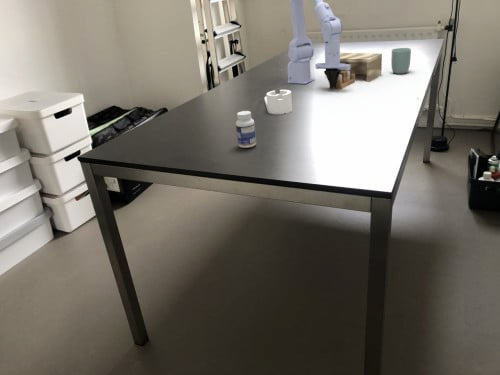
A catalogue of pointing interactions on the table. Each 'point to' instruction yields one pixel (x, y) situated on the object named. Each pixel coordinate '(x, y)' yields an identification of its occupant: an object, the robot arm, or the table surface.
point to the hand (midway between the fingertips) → (333, 87)
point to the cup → (400, 60)
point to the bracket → (279, 102)
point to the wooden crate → (363, 64)
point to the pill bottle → (245, 129)
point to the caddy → (344, 80)
